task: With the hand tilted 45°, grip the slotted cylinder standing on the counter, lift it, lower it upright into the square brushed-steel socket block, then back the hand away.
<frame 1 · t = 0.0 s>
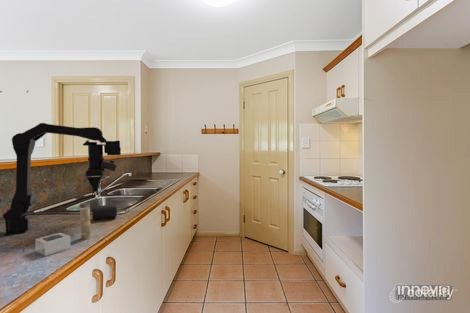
hand: (96, 190, 109), 15 cm above the table, tool pointing down, fingers open, 9 cm apart
end cap: (104, 219, 115), on the table
socket block: (53, 249, 81), on the table
slotted cylinder: (85, 238, 91), on the table
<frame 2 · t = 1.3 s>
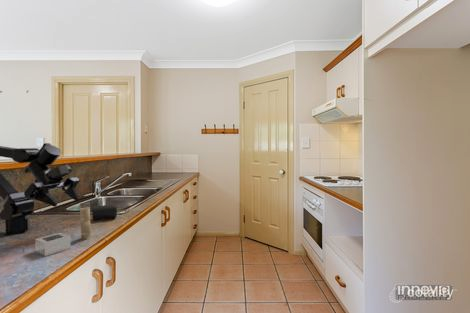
hand: (67, 202, 92), 13 cm above the table, tool tilted 45°, fingers open, 9 cm apart
nothing on the table moved.
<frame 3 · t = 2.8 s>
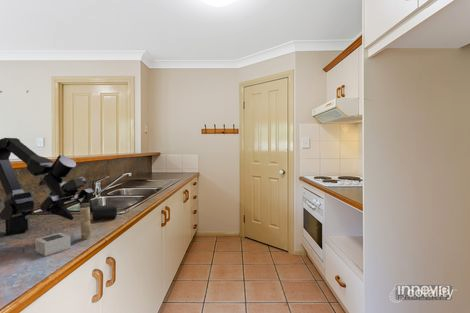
hand: (83, 215, 91), 8 cm above the table, tool tilted 45°, fingers open, 9 cm apart
nothing on the table moved.
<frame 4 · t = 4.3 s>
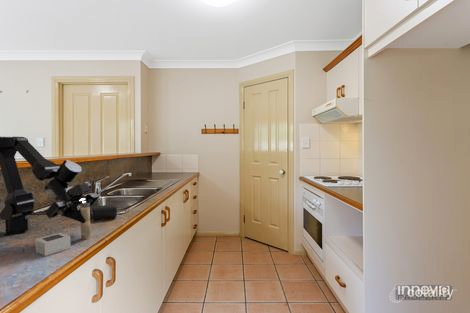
hand: (88, 220, 90), 7 cm above the table, tool tilted 45°, fingers closed on slotted cylinder, 3 cm apart
slotted cylinder: (85, 238, 91), on the table, touching gripper
everything else where it was.
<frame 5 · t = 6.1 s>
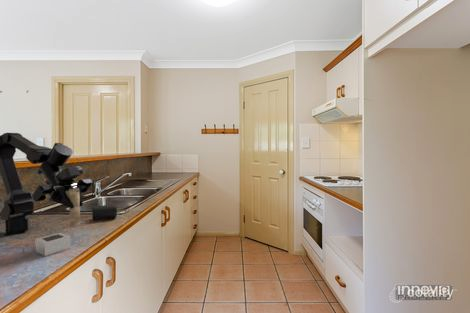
hand: (77, 206, 86), 13 cm above the table, tool tilted 45°, fingers closed on slotted cylinder, 3 cm apart
slotted cylinder: (75, 224, 87), point 6 cm above the table, touching gripper
everything else where it was.
when the fingers open (7 cm above the table, at t = 8.2 s): slotted cylinder stays where it is, resting in socket block.
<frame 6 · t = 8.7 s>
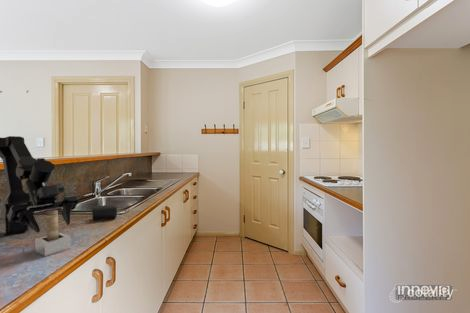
hand: (54, 227, 79), 8 cm above the table, tool tilted 45°, fingers open, 8 cm apart
slotted cylinder: (53, 249, 81), resting in socket block
everything else where it was.
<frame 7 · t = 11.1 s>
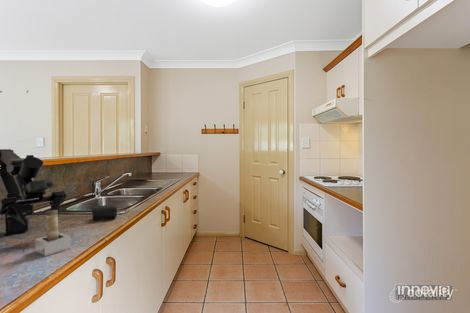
hand: (42, 220, 84), 9 cm above the table, tool tilted 45°, fingers open, 9 cm apart
nothing on the table moved.
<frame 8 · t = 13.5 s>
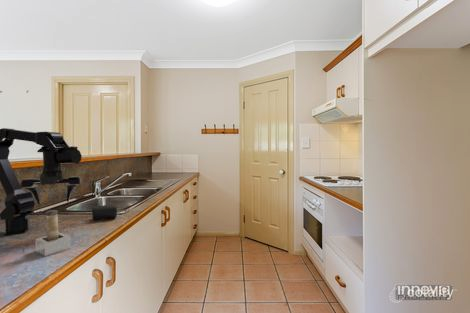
hand: (53, 202, 96), 12 cm above the table, tool pointing down, fingers open, 9 cm apart
nothing on the table moved.
at the end: slotted cylinder 0.1 cm off-centre on the socket block, point 0.0 cm above the socket block's base; slotted cylinder tilted 0°; the gripper is holding nothing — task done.
